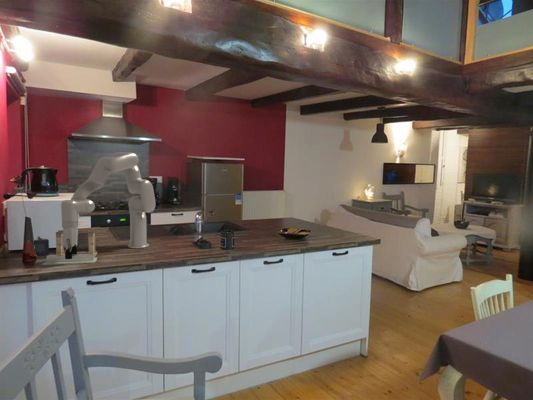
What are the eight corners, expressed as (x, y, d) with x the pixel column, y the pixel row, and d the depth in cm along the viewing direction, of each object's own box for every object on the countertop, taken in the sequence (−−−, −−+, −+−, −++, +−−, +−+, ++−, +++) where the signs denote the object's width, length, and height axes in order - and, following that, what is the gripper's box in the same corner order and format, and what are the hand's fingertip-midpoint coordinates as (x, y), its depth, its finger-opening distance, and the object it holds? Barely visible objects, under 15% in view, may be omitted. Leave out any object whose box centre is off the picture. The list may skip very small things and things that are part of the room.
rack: (57, 255, 204) (57, 230, 202) (97, 253, 209) (96, 229, 207) (54, 258, 198) (53, 232, 196) (94, 256, 203) (94, 231, 202)
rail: (48, 260, 191) (48, 254, 191) (94, 259, 196) (94, 253, 196) (46, 262, 188) (46, 256, 188) (93, 260, 194) (93, 254, 193)
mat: (48, 260, 194) (48, 259, 194) (97, 258, 200) (97, 257, 200) (42, 265, 185) (42, 263, 185) (94, 263, 191) (94, 262, 191)
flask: (29, 257, 198) (28, 237, 197) (29, 255, 201) (29, 236, 200) (49, 255, 202) (48, 236, 201) (49, 254, 205) (49, 235, 204)
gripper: (66, 221, 198) (67, 252, 200) (57, 227, 181) (58, 261, 183) (81, 221, 199) (82, 252, 201) (73, 227, 183) (75, 260, 185)
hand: (71, 256), depth 192 cm, fingers open, 9 cm apart
